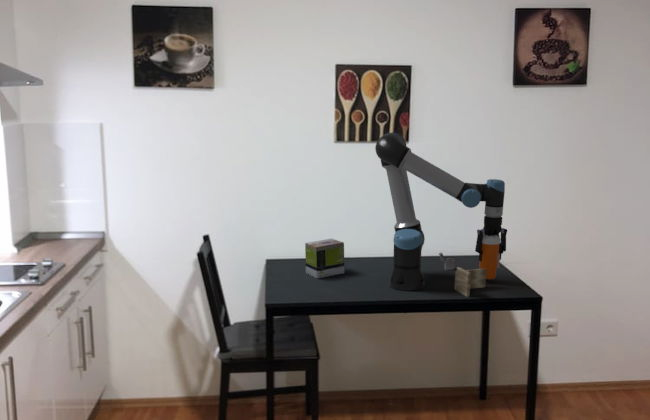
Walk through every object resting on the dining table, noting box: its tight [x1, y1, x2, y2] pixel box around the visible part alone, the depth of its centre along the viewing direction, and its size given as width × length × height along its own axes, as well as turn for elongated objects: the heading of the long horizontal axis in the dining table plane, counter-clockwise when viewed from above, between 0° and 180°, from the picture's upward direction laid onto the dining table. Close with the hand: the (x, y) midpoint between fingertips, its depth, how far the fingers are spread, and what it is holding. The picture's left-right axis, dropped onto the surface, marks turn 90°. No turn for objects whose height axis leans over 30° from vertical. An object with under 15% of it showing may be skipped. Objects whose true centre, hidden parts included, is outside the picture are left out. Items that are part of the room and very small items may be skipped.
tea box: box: [304, 238, 345, 279], centre depth 290 cm, size 15×10×15 cm, turn 123°
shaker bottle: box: [478, 233, 501, 280], centre depth 278 cm, size 9×9×20 cm
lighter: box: [438, 252, 455, 271], centre depth 299 cm, size 7×2×8 cm, turn 94°
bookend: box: [454, 266, 487, 298], centre depth 266 cm, size 14×10×10 cm
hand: (489, 267), depth 279 cm, fingers open, 6 cm apart
